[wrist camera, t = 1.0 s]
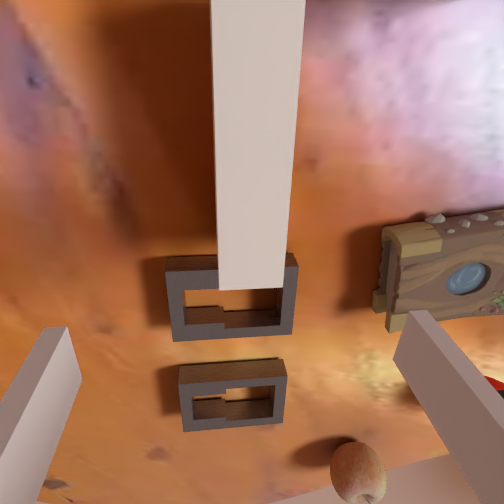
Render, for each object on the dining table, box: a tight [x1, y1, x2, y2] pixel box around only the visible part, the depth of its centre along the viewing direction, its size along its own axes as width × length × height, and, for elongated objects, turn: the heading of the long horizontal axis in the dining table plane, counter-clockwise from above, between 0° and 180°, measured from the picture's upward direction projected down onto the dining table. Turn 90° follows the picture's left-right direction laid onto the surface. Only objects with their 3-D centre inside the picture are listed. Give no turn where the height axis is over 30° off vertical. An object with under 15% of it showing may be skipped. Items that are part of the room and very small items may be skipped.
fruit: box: [330, 442, 387, 504], centre depth 47 cm, size 8×7×8 cm
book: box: [372, 209, 504, 333], centre depth 34 cm, size 15×11×5 cm
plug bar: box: [209, 0, 306, 290], centre depth 24 cm, size 18×4×8 cm, turn 179°
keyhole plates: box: [165, 253, 299, 432], centre depth 37 cm, size 22×12×2 cm, turn 179°
